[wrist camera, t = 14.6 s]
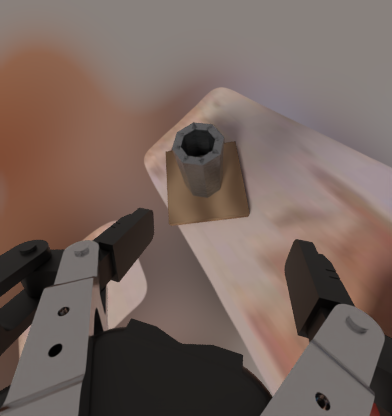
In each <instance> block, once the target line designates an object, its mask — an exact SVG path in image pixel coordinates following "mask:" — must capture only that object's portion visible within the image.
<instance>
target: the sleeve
mask: <svg viewBox="0 0 392 416" xmlns="http://www.w3.org/2000/svg"><path fill="white" fill-rule="evenodd" d="M172 150H173V153H174V155H175V158H176V161H177V163H178V166H179V169H180V171H181V174H182V177H183V179H184V182H185V185H186V186H187V188H188V189H189V190H190V192H191V193H192V195H193V196H199V197H205V198H208V197H210V196H211V195H213V194H214V193H216V192H217V191H219V190H220V187H221V182H222V175H223V150H224V137H223V136H222V134H221V133H220V132H219V131H218V130H217V129H216V128H215V127H214V126H213V124H203V123H192V124H190V125H189V126H187V127H185V128H184V129H182V130H180V131H179V132H177V134H176V137H175V141H174V144H173V147H172ZM200 155H204V156H203V157H201V158H200V157H197V156H200Z"/></svg>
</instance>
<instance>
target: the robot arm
mask: <svg viewBox="0 0 392 416" xmlns="http://www.w3.org/2000/svg"><path fill="white" fill-rule="evenodd" d="M153 235H154V219H153V211H152V210H149V209H144V208H138V209H137V210H136V211H135V212H134V213H132V214H129V215H126V216H124V217H122V218H120V219H119V220H118V221H117V222H116V223H114V224H113V225H112V226H111V227H109V228H108V229H107V230H105V231H104V232H103V233H102V234H100V235H99V236H98V237H97V238H95V239H94V240H93V241H90V240H86V241H80V242H77V243H74V244H72V245H70V246H69V247H68V248H66V250H50V248H49V245H48V243H47V242H46V241H44V240H32V241H28V242H24V243H22V244H19V245H18V246H16V247H14V248H12V249H11V250H9V251H7V252H6V253H4V254H2V255H1V256H0V297H1V296H2V295H3V294H5V293H6V292H7V291H9V290H10V289H11V288H12V287H14V286H15V285H16V284H18V283H19V282H20V281H21V283H22V285H23V287H24V290H22V291H21V292H20V293H19V294H18V295H16V296H15V297H14V298H13V299H11V300H10V301H9V302H8V303H7V304H5V305H4V306H3V307H2V308H0V356H1V354H2V353H4V352H5V350H6V349H7V348H8V347H9V346H10V345H11V344H12V343H13V342H14V341H15V340H16V339H17V338H18V337H19V336H20V335H21V334H22V333H23V332H24V331H25V330H26V329H27V328H28V327H29V326H30V325H31V324H32V325H31V328H30V331H29V334H28V337H27V340H26V343H25V345H24V348H23V351H22V354H21V357H20V360H19V363H18V366H17V369H16V372H15V375H14V378H13V381H12V384H11V385H9V386H8V387H6V388H4V389H3V390H1V391H0V416H370V412H371V409H372V406H373V402H374V403H375V404H376V406H377V408H378V411H379V414H380V416H392V338H390V337H388V336H386V335H384V333H383V331H382V329H381V328H380V326H379V325H378V324H377V323H376V322H375V321H374V320H373V319H372V318H371V317H370V316H369V315H368V314H366V313H365V312H363V311H362V310H360V309H358V308H356V307H355V306H354V304H353V302H352V300H351V298H350V296H349V295H348V293H347V291H346V289H345V287H344V285H343V283H342V282H341V280H340V278H339V276H338V274H337V273H336V270H335V269H334V267H333V265H332V263H331V262H330V261H329V260H328V259H327V258H326V257H325V256H324V255H323V254H318V252H317V250H316V248H315V246H314V244H313V243H312V242H308V241H303V240H298V239H296V240H295V241H294V242H293V245H292V247H291V250H290V252H289V255H288V258H287V260H286V263H285V277H286V281H287V286H288V291H289V295H290V300H291V305H292V310H293V314H294V319H295V324H296V329H297V333H298V335H299V336H303V337H306V338H308V339H309V342H310V343H309V345H308V346H307V348H306V349H305V351H304V352H303V354H302V355H301V356H300V358H299V359H298V361H297V362H296V364H295V365H294V367H293V368H292V370H291V371H290V373H289V374H288V376H287V377H286V379H285V380H284V381H283V383H282V384H281V386H280V387H279V389H278V390H277V392H276V393H275V395H274V396H273V397H272V395H271V394H270V392H269V391H268V390H267V388H266V387H265V386H264V385H263V384H262V382H261V381H260V380H259V379H258V378H257V377H256V376H255V375H254V374H252V373H251V372H250V371H249V370H248V369H247V368H245V367H243V355H241V354H238V353H235V352H232V351H229V350H226V349H223V348H220V347H217V346H214V345H196V344H182V343H179V342H178V341H176V340H175V339H173V338H172V337H170V336H169V335H168V334H166V333H165V332H163V331H162V330H161V329H159V328H158V327H156V326H153V325H150V324H147V323H143V322H141V321H138V320H135V319H131V320H130V322H129V324H128V325H127V327H120V328H114V329H109V330H108V288H107V283H108V282H109V281H110V280H113V281H116V282H120V280H121V279H122V278H123V277H124V275H125V274H126V273H127V271H128V270H129V269H130V268H131V266H132V265H133V264H134V263H135V261H136V260H137V259H138V258H139V256H140V255H141V254H142V252H143V251H144V250H145V249H146V247H147V246H148V245H149V244H150V242H151V241H152V239H153Z"/></svg>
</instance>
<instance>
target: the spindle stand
mask: <svg viewBox="0 0 392 416" xmlns="http://www.w3.org/2000/svg"><path fill="white" fill-rule="evenodd" d="M203 156H204V155H200V156H197V157H200V158H201V157H203ZM166 169H167V191H168V213H169V224H170V225H171V226H174V225H182V224H191V223H199V222H207V221H216V220H224V219H232V218H241V217H248V216H249V214H250V213H249V208H248V203H247V198H246V193H245V188H244V183H243V178H242V173H241V168H240V163H239V158H238V153H237V148H236V143H235V141H234V142H228V143H224V150H223V175H222V182H221V187H220V190H219V191H217V192H216V193H214V194H213V195H211V196H210V197H208V198H205V197H199V196H193V195H192V193H191V192H190V190H189V189H188V188H187V186H186V185H185V182H184V179H183V177H182V174H181V171H180V169H179V166H178V163H177V161H176V158H175V155H174V153H173V151H168V152H166Z"/></svg>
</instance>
